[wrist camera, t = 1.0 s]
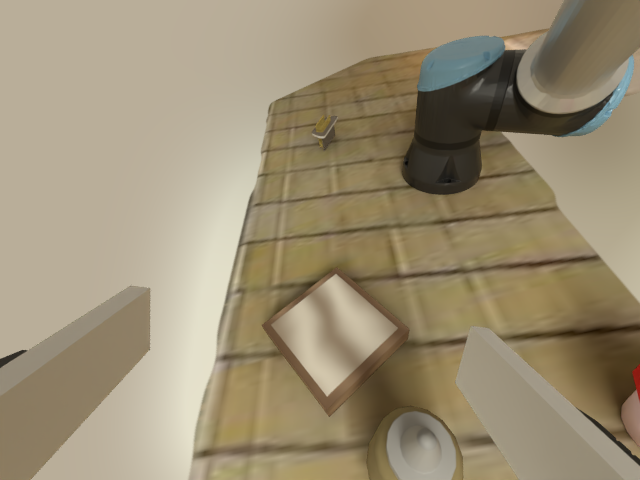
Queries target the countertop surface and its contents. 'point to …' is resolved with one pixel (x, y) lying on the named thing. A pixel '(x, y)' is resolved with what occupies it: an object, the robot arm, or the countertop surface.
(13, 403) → the robot arm
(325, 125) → the platform
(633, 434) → the mushroom
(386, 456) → the squeeze bottle
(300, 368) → the picture frame
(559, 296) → the countertop surface
